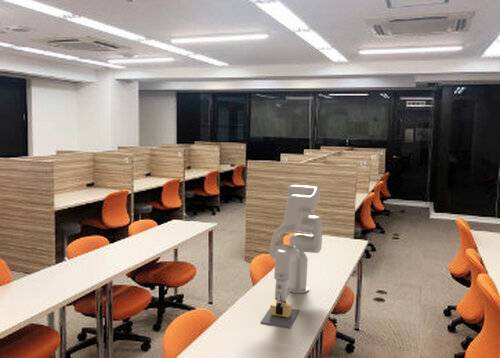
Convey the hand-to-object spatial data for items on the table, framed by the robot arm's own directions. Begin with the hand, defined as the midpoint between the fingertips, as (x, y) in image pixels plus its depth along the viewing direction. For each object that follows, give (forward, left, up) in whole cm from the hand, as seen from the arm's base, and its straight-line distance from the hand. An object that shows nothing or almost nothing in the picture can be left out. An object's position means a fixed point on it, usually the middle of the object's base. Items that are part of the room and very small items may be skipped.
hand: (280, 311), depth 216 cm
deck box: (0, 0, -1) cm, 1 cm away
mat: (0, 0, -3) cm, 3 cm away
